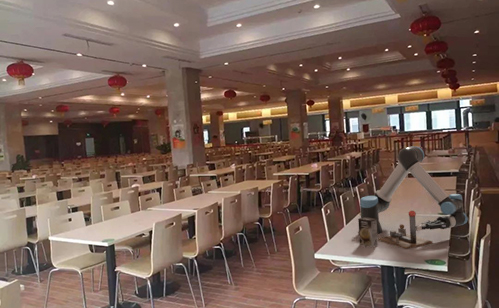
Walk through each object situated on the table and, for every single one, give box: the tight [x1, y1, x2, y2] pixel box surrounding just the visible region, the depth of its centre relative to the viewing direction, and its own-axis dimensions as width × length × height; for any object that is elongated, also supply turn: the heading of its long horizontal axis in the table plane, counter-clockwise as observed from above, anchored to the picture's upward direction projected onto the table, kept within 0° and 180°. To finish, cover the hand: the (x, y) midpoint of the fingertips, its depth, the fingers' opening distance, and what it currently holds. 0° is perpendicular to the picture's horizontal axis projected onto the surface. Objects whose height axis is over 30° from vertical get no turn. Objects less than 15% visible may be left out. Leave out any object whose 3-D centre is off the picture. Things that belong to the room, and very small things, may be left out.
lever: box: [389, 210, 417, 243], centre depth 250 cm, size 21×4×19 cm, turn 20°
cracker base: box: [377, 223, 433, 250], centre depth 251 cm, size 20×24×8 cm
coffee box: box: [357, 217, 379, 248], centre depth 249 cm, size 9×6×16 cm
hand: (416, 228), depth 242 cm, fingers closed
